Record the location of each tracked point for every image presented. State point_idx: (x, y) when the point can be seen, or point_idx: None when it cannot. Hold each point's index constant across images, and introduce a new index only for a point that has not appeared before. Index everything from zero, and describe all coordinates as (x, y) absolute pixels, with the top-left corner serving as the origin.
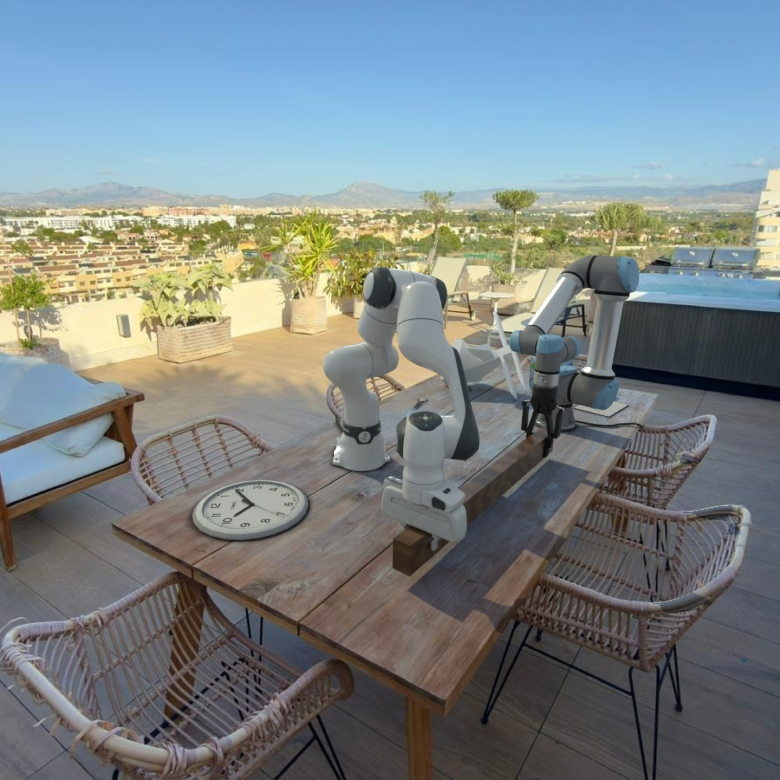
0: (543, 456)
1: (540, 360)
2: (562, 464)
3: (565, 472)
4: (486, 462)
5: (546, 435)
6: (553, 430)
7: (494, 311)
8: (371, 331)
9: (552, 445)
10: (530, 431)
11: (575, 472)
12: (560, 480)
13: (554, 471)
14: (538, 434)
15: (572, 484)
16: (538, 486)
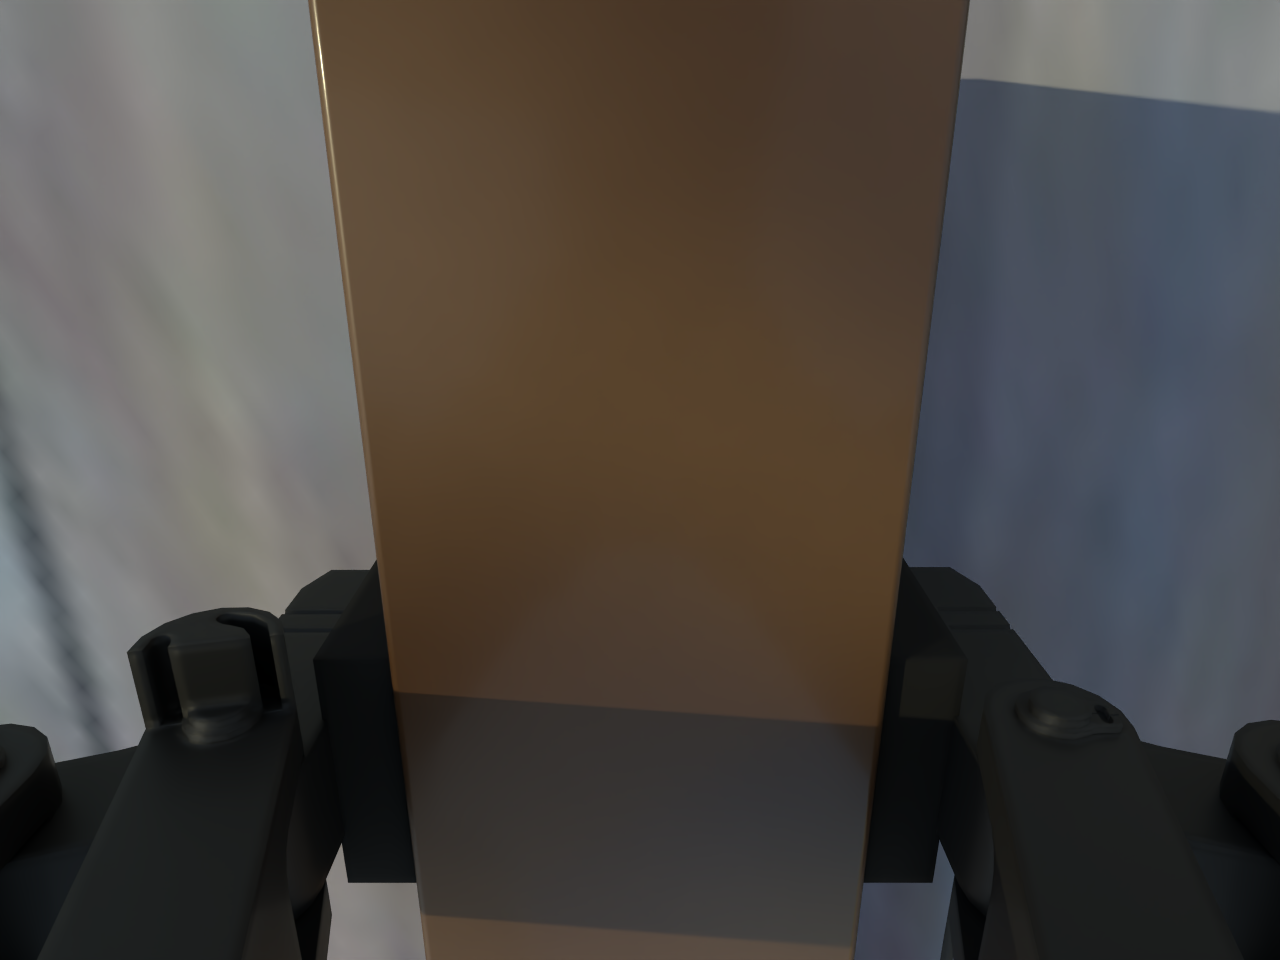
0: None
1: None
2: (992, 149)
3: (1088, 418)
4: None
5: (835, 706)
6: (1198, 888)
7: None
8: None
9: (983, 603)
10: (313, 882)
11: (1233, 321)
12: (1065, 680)
13: (935, 485)
14: (585, 777)
15: (1223, 691)
16: (869, 933)
